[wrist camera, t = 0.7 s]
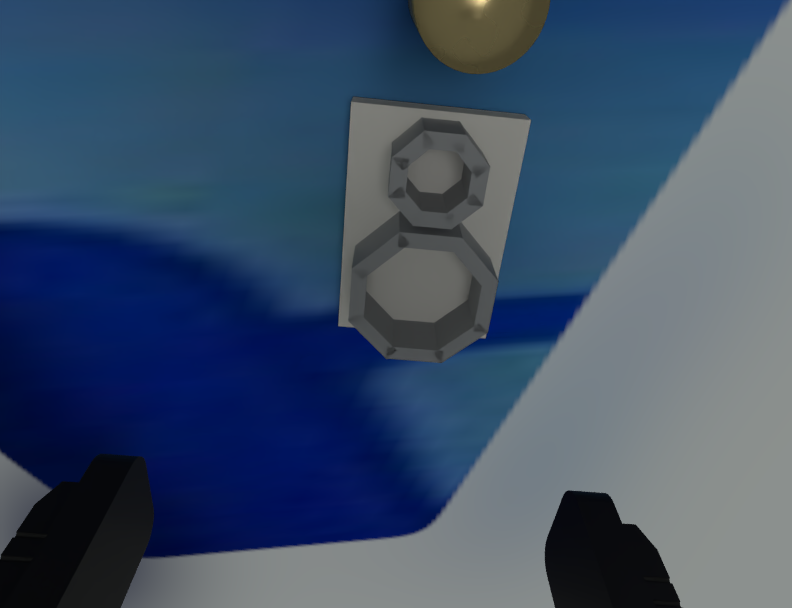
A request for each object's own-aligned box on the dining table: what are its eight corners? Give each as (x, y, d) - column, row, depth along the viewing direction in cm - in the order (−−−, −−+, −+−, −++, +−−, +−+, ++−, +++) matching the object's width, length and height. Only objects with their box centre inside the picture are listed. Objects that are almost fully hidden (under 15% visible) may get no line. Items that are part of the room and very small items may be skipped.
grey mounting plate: (353, 96, 29) (346, 113, 25) (525, 114, 30) (544, 133, 26) (340, 313, 35) (333, 354, 32) (482, 325, 36) (492, 367, 32)
